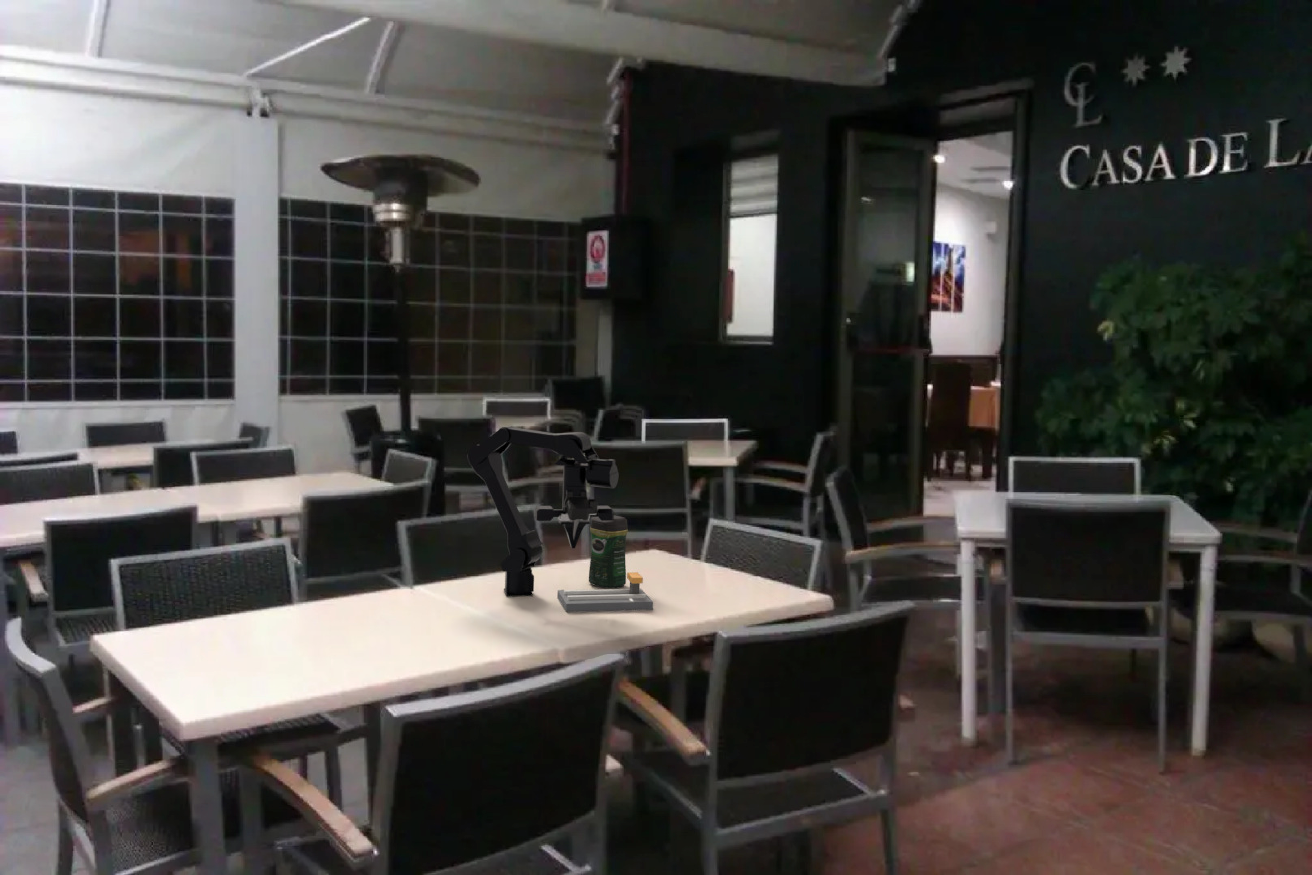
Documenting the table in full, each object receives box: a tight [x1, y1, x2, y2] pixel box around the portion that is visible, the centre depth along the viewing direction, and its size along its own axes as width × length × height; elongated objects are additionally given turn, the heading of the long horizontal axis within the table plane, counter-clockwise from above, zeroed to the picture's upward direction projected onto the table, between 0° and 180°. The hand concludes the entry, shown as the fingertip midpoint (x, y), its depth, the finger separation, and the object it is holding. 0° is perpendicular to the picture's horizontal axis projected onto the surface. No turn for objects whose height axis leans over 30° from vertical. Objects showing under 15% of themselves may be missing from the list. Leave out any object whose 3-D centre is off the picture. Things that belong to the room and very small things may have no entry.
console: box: [557, 588, 654, 613], centre depth 272 cm, size 21×13×3 cm, turn 104°
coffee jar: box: [588, 514, 629, 589], centre depth 290 cm, size 10×8×19 cm
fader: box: [626, 571, 644, 594], centre depth 274 cm, size 3×6×5 cm, turn 14°
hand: (572, 548), depth 273 cm, fingers closed
